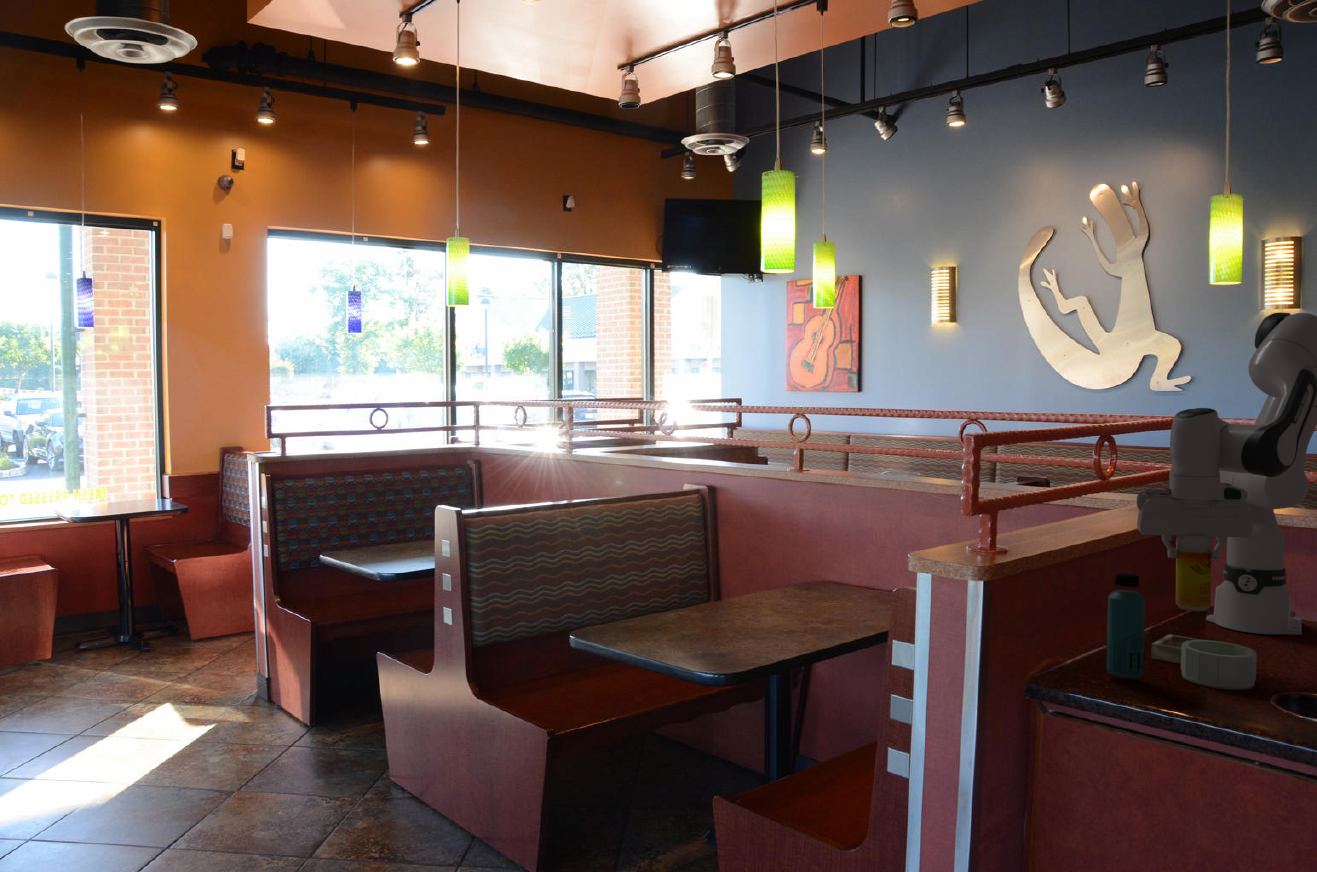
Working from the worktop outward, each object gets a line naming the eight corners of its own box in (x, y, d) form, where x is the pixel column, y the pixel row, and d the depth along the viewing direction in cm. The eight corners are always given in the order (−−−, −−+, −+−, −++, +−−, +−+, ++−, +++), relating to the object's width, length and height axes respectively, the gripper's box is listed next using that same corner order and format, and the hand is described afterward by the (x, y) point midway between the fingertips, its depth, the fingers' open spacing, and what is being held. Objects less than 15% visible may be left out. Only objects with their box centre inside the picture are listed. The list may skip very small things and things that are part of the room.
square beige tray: (1169, 648, 195) (1169, 631, 195) (1228, 658, 187) (1229, 641, 187) (1151, 658, 187) (1151, 640, 187) (1212, 670, 180) (1213, 651, 179)
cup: (1192, 667, 181) (1193, 636, 181) (1261, 680, 173) (1262, 648, 173) (1173, 679, 173) (1174, 647, 173) (1244, 694, 165) (1246, 660, 165)
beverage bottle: (1129, 687, 168) (1132, 578, 167) (1096, 677, 174) (1099, 572, 173) (1152, 682, 171) (1155, 575, 170) (1119, 673, 177) (1122, 569, 176)
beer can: (1207, 612, 182) (1208, 536, 182) (1172, 608, 186) (1173, 534, 186) (1213, 608, 187) (1213, 533, 187) (1179, 604, 191) (1179, 531, 191)
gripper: (1140, 490, 186) (1139, 558, 187) (1256, 492, 180) (1255, 562, 181) (1133, 487, 192) (1133, 553, 193) (1246, 488, 186) (1245, 557, 187)
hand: (1193, 558), depth 187 cm, fingers closed on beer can, 6 cm apart
